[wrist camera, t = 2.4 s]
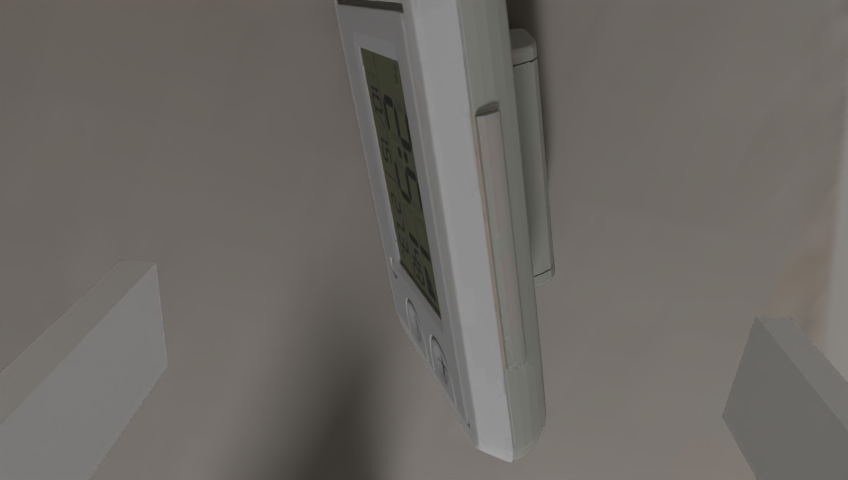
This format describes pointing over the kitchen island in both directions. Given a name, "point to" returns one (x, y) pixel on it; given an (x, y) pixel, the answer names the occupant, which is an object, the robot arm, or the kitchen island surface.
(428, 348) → the digital clock
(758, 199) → the kitchen island surface
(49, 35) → the kitchen island surface
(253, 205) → the kitchen island surface
